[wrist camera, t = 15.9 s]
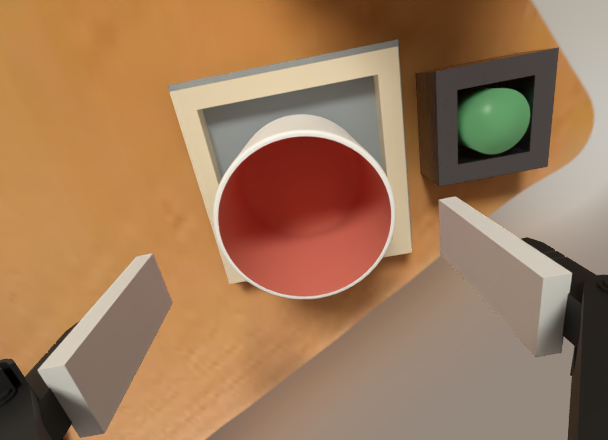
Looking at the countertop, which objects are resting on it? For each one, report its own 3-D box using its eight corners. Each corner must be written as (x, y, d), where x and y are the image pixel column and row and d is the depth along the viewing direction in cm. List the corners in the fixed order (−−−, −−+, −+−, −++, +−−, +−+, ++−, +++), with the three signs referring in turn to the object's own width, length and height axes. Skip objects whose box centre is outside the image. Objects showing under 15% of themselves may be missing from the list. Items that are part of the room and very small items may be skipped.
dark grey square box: (420, 173, 29) (439, 186, 25) (415, 73, 26) (435, 71, 22) (514, 155, 29) (547, 166, 25) (520, 52, 26) (558, 47, 22)
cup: (361, 107, 26) (399, 121, 16) (363, 227, 30) (394, 293, 20) (230, 118, 26) (195, 138, 17) (249, 236, 30) (228, 307, 20)
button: (447, 151, 27) (465, 159, 24) (445, 93, 26) (465, 95, 23) (502, 140, 27) (528, 148, 24) (504, 82, 25) (532, 82, 22)
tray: (230, 273, 32) (225, 289, 30) (173, 85, 26) (159, 85, 23) (408, 242, 32) (418, 256, 29) (393, 41, 25) (404, 36, 23)
